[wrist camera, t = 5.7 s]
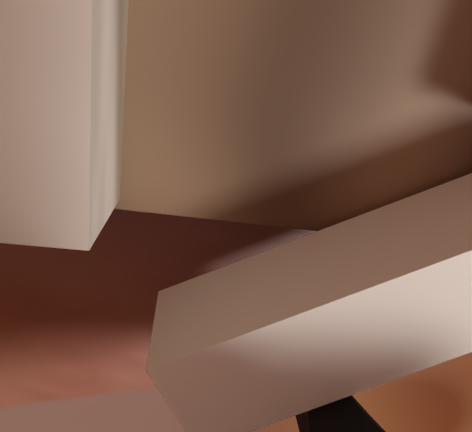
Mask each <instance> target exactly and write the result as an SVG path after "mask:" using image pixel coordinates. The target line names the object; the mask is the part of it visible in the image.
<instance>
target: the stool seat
mask: <svg viewBox="0 0 472 432" xmlns="http://www.w3.org/2000/svg"><path fill="white" fill-rule="evenodd" d="M471 173H472V0H0V243H6V244H18V245H29V246H40V247H52V248H63V249H74V250H86V251H89V250H90V249H91V247H92V245H93V243H94V242H95V240H96V238H97V237H98V235H99V233H100V232H101V230H102V228H103V227H104V225H105V223H106V222H107V220H108V218H109V216H110V215H111V213H112V211H113V210H114V209H121V210H130V211H139V212H148V213H157V214H167V215H176V216H185V217H194V218H203V219H212V220H222V221H231V222H240V223H249V224H258V225H268V226H277V227H286V228H295V229H304V230H314V231H319V230H322V229H325V228H327V227H330V226H333V225H335V224H338V223H341V222H343V221H346V220H349V219H351V218H354V217H357V216H359V215H362V214H365V213H367V212H370V211H372V210H375V209H378V208H380V207H383V206H386V205H388V204H391V203H394V202H396V201H399V200H402V199H404V198H407V197H410V196H412V195H415V194H418V193H420V192H423V191H425V190H428V189H431V188H433V187H436V186H439V185H441V184H444V183H447V182H449V181H452V180H455V179H457V178H460V177H463V176H465V175H468V174H471Z"/></svg>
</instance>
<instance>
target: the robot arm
mask: <svg viewBox="0 0 472 432" xmlns="http://www.w3.org/2000/svg"><path fill="white" fill-rule="evenodd" d="M296 419H297V423H298V427H299V431H300V432H385V431H384V430H383V429H382V428H381V427H380V426H379V424H378V423H377V422H376V421H375V420H374V419H373V418H372V417H371V416H370V415H369V414H368V413H367V412H366V410H364V408H363V407H362V406H361V405H360V404H359V403H358V402H357V401H356V399H355V398H354V397H353V396H352V395H351V396H348V397H345V398H342V399H340V400H337V401H334V402H331V403H328V404H326V405H323V406H320V407H317V408H315V409H312V410H309V411H306V412H303V413H301V414H298V415H296Z"/></svg>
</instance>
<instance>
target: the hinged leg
mask: <svg viewBox="0 0 472 432" xmlns="http://www.w3.org/2000/svg"><path fill="white" fill-rule="evenodd" d="M470 352H472V173H471V174H468V175H465V176H463V177H460V178H457V179H455V180H452V181H449V182H447V183H444V184H441V185H439V186H436V187H433V188H431V189H428V190H425V191H423V192H420V193H418V194H415V195H412V196H410V197H407V198H404V199H402V200H399V201H396V202H394V203H391V204H388V205H386V206H383V207H380V208H378V209H375V210H372V211H370V212H367V213H365V214H362V215H359V216H357V217H354V218H351V219H349V220H346V221H343V222H341V223H338V224H335V225H333V226H330V227H327V228H325V229H322V230H319V231H317V232H314V233H312V234H309V235H306V236H304V237H301V238H298V239H296V240H293V241H290V242H288V243H285V244H282V245H280V246H277V247H274V248H272V249H269V250H267V251H264V252H261V253H259V254H256V255H253V256H251V257H248V258H245V259H243V260H240V261H237V262H235V263H232V264H229V265H227V266H224V267H221V268H219V269H216V270H214V271H211V272H208V273H206V274H203V275H200V276H198V277H195V278H192V279H190V280H187V281H184V282H182V283H179V284H176V285H174V286H171V287H168V288H166V289H163V290H161V291H158V297H157V303H156V310H155V316H154V322H153V328H152V334H151V341H150V347H149V353H148V359H147V366H146V372H147V374H148V375H149V377H150V378H151V380H152V381H153V383H154V384H155V386H156V387H157V389H158V390H159V392H160V393H161V395H162V396H163V398H164V399H165V401H166V403H167V404H168V406H169V407H170V409H171V410H172V412H173V413H174V415H175V416H176V418H177V419H178V421H179V422H180V424H181V425H182V427H183V428H184V430H185V431H186V432H251V431H254V430H256V429H259V428H262V427H265V426H267V425H270V424H273V423H276V422H278V421H281V420H284V419H287V418H290V417H292V416H295V415H298V414H301V413H303V412H306V411H309V410H312V409H315V408H317V407H320V406H323V405H326V404H328V403H331V402H334V401H337V400H340V399H342V398H345V397H348V396H351V395H353V394H356V393H359V392H362V391H364V390H367V389H369V388H373V387H375V386H378V385H381V384H384V383H387V382H389V381H392V380H395V379H398V378H400V377H403V376H406V375H409V374H412V373H414V372H417V371H420V370H423V369H425V368H428V367H431V366H434V365H437V364H439V363H442V362H445V361H448V360H450V359H453V358H456V357H459V356H461V355H464V354H467V353H470Z"/></svg>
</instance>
